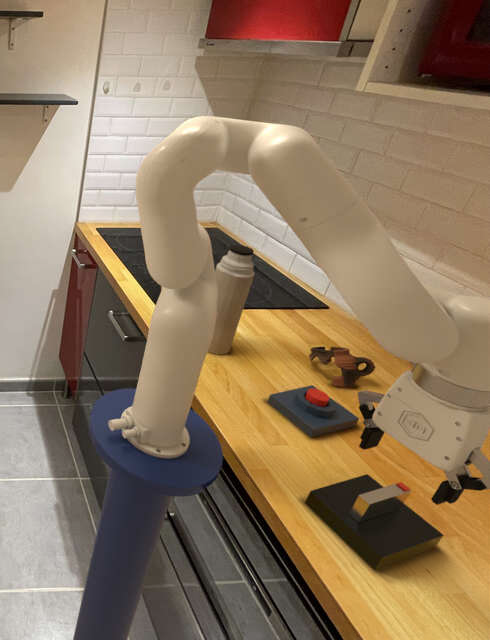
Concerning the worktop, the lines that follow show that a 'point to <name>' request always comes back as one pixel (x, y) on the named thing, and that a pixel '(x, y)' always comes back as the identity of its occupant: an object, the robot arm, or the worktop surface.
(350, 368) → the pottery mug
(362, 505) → the silver lever handle
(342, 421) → the red push button box
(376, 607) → the worktop surface
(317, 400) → the button
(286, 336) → the worktop surface
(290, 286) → the worktop surface
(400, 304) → the robot arm
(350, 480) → the base
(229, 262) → the thermos bottle
